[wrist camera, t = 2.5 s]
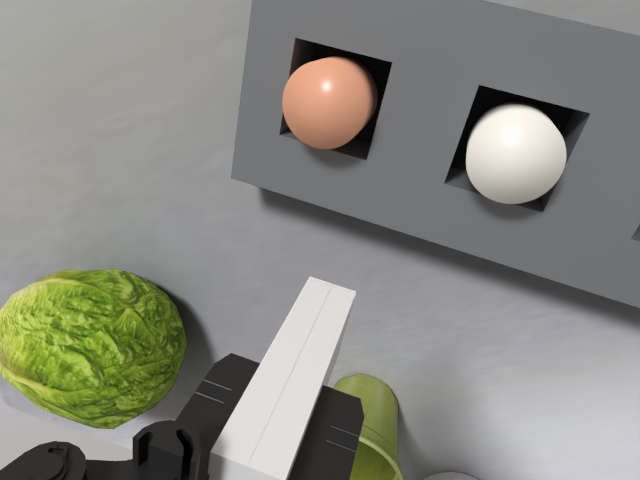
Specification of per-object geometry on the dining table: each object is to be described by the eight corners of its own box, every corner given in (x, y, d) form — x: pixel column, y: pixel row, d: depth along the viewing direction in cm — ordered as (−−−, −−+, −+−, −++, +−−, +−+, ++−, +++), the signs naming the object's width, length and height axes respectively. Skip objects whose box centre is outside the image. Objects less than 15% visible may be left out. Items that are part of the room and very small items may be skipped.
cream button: (571, 114, 27) (583, 127, 24) (534, 193, 29) (541, 215, 26) (484, 92, 28) (485, 101, 24) (455, 170, 30) (453, 188, 27)
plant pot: (330, 341, 42) (298, 413, 34) (432, 382, 40) (422, 466, 33) (306, 412, 46) (274, 489, 39) (398, 451, 45) (382, 538, 37)
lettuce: (-58, 257, 44) (-85, 410, 42) (110, 264, 34) (85, 463, 32) (68, 269, 55) (51, 389, 53) (220, 278, 46) (205, 424, 44)
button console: (889, 95, 24) (964, 109, 21) (725, 308, 31) (759, 348, 27) (283, -43, 30) (256, -52, 26) (254, 162, 37) (228, 179, 33)
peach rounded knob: (386, 66, 29) (375, 72, 25) (366, 144, 31) (353, 159, 28) (310, 46, 30) (290, 50, 26) (296, 124, 32) (276, 136, 29)
